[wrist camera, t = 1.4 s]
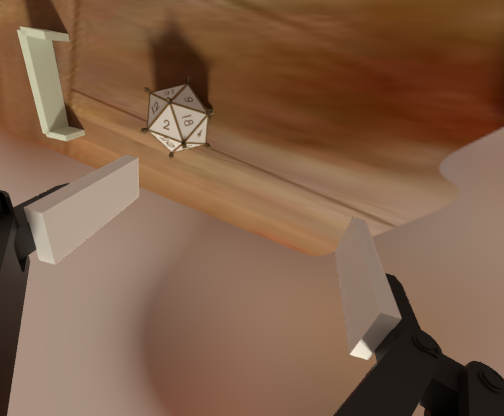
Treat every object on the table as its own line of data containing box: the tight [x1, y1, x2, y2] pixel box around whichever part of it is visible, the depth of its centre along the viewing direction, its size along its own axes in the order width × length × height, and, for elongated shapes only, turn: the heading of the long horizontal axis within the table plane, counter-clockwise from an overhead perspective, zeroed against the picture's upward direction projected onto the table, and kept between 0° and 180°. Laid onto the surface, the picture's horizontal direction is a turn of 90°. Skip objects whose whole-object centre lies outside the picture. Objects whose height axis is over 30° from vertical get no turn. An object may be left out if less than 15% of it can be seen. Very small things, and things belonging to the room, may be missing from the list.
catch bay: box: [17, 26, 85, 141], centre depth 34 cm, size 4×13×4 cm, turn 171°
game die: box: [140, 76, 214, 159], centre depth 31 cm, size 9×8×10 cm
